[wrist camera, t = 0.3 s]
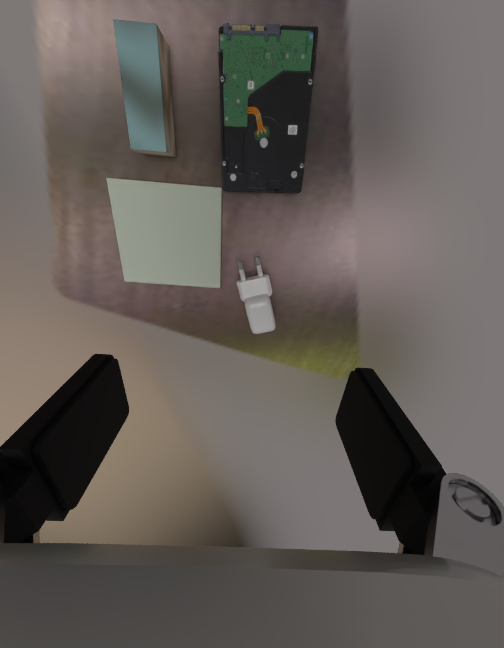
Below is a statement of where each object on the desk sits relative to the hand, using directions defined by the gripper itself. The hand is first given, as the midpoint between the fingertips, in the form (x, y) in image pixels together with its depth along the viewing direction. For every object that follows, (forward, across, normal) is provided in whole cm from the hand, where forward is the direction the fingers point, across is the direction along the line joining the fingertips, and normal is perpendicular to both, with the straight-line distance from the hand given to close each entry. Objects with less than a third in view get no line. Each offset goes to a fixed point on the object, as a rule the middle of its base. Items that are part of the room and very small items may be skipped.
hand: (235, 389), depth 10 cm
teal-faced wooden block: (+30, +12, -16) cm, 36 cm away
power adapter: (+30, -2, +6) cm, 31 cm away
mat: (+30, +11, -1) cm, 32 cm away
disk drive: (+31, -1, -15) cm, 34 cm away
